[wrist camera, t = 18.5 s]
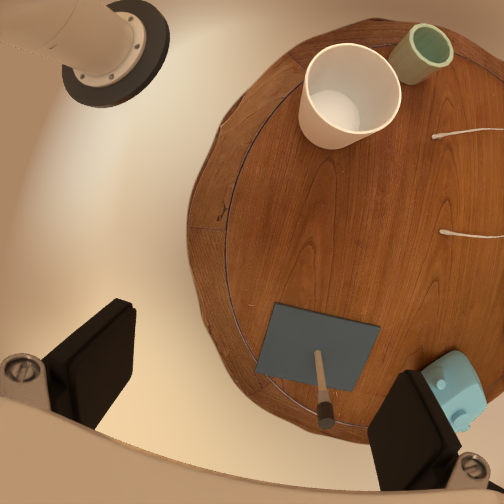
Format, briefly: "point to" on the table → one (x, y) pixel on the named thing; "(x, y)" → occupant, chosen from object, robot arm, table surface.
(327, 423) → the brush
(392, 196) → the table surface
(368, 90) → the cup
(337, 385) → the mat
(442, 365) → the teapot
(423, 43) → the tumbler
